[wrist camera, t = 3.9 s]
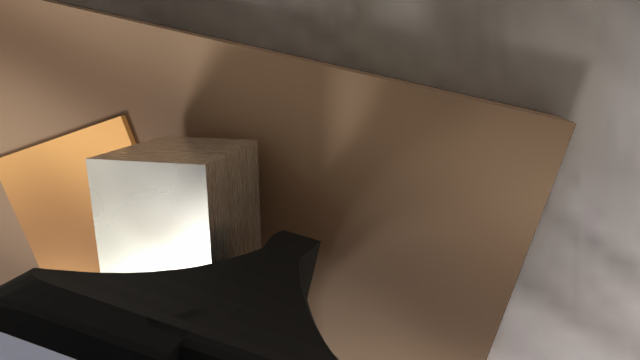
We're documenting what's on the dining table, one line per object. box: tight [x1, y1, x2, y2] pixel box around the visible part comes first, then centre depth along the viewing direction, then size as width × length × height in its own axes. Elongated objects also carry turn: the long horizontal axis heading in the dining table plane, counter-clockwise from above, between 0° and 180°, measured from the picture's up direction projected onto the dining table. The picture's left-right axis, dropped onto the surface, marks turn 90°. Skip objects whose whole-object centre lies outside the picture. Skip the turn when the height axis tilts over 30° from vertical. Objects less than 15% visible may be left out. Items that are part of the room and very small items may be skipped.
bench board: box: [0, 0, 576, 360], centre depth 16 cm, size 20×24×2 cm
